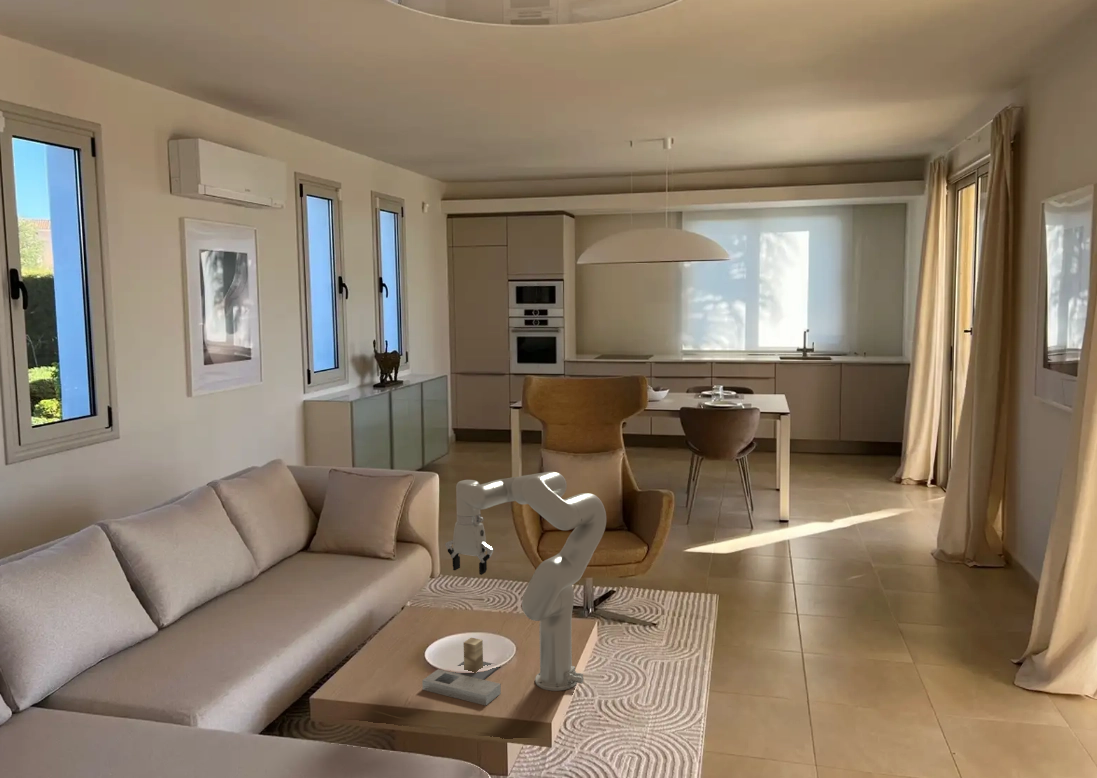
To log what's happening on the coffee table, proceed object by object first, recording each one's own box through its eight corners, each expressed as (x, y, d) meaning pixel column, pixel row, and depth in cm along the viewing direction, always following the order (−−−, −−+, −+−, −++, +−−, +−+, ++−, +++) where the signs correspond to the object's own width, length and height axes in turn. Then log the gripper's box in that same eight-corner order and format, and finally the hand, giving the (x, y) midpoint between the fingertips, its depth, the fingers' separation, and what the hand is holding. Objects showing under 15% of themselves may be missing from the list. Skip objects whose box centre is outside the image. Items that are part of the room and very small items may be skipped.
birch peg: (483, 667, 260) (482, 639, 259) (475, 673, 257) (475, 645, 256) (471, 665, 262) (471, 637, 261) (464, 670, 259) (463, 642, 258)
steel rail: (500, 693, 245) (500, 683, 244) (486, 705, 238) (486, 695, 237) (438, 678, 255) (438, 669, 255) (422, 689, 248) (422, 680, 248)
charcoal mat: (500, 667, 262) (500, 665, 262) (480, 683, 252) (479, 681, 251) (468, 659, 268) (468, 658, 268) (446, 675, 257) (446, 673, 257)
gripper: (498, 519, 266) (499, 571, 268) (451, 513, 274) (452, 564, 276) (486, 525, 260) (487, 579, 262) (439, 519, 267) (440, 571, 269)
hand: (469, 571), depth 269 cm, fingers open, 9 cm apart
